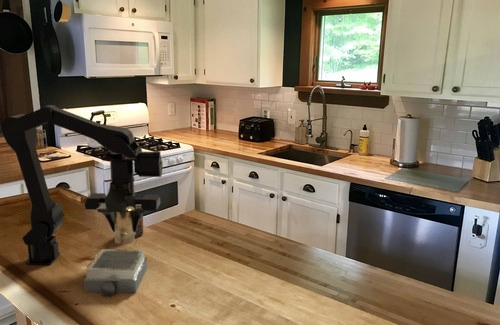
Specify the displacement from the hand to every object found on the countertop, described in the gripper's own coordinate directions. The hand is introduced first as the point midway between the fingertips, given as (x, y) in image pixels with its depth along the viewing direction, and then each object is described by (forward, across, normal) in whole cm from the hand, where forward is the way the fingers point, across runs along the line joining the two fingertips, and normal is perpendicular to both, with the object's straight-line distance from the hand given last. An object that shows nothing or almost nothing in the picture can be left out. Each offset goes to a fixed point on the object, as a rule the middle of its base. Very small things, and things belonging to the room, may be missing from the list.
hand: (124, 231), depth 111 cm
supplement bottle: (+8, -2, +17) cm, 19 cm away
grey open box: (+8, +1, -11) cm, 14 cm away
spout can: (+2, 0, 0) cm, 3 cm away
